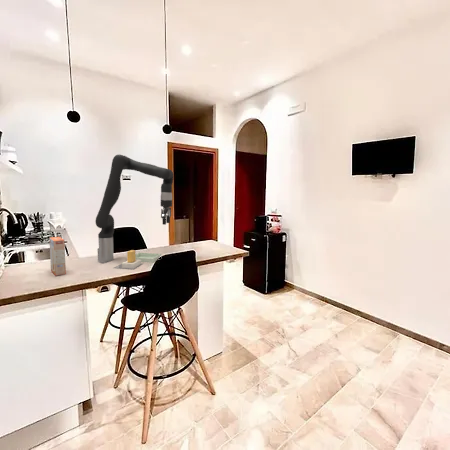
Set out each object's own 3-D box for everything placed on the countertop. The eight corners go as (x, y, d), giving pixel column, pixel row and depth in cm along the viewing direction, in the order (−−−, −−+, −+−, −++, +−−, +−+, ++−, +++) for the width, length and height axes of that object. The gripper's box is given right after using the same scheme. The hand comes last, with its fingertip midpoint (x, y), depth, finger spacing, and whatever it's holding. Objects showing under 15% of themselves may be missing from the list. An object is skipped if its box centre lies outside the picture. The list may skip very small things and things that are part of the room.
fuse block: (112, 269, 166) (112, 263, 165) (124, 263, 180) (124, 258, 179) (133, 271, 164) (133, 264, 164) (143, 265, 178) (143, 259, 177)
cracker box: (66, 274, 155) (64, 239, 152) (54, 276, 151) (52, 240, 148) (61, 268, 165) (60, 236, 162) (50, 270, 161) (48, 237, 158)
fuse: (127, 266, 169) (127, 251, 168) (131, 264, 174) (131, 250, 173) (132, 267, 169) (131, 252, 168) (135, 265, 174) (135, 250, 173)
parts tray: (128, 262, 184) (128, 257, 183) (139, 256, 199) (139, 252, 199) (152, 263, 181) (152, 258, 181) (161, 258, 197) (161, 253, 196)
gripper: (164, 198, 180) (164, 222, 183) (157, 199, 166) (157, 224, 168) (174, 199, 180) (174, 222, 182) (168, 199, 166) (168, 225, 168)
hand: (166, 223), depth 175 cm, fingers open, 8 cm apart
